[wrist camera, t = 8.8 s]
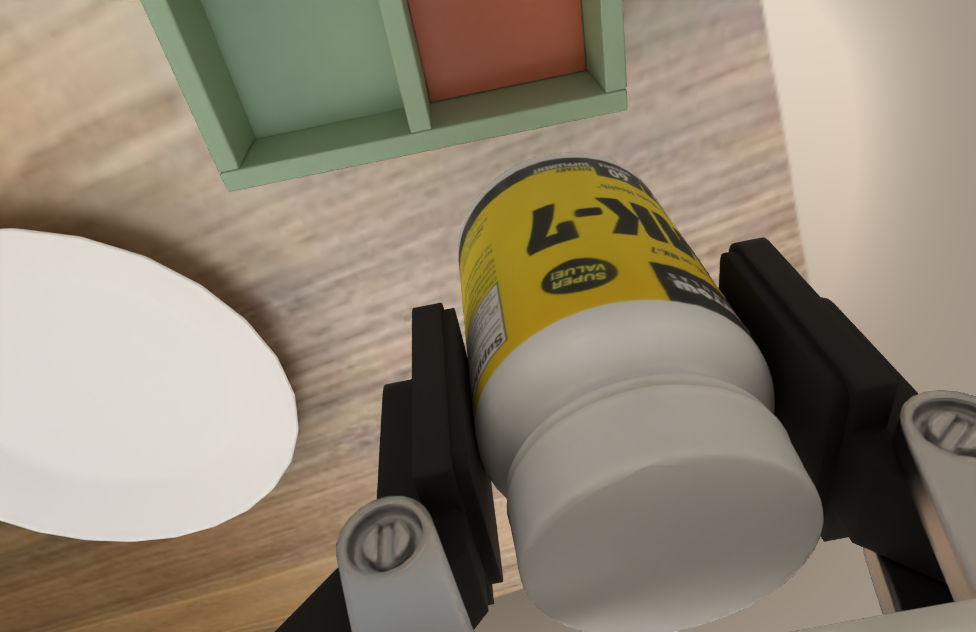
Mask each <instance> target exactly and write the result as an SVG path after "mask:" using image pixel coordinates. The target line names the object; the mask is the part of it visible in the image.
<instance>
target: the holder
mask: <svg viewBox="0 0 976 632" xmlns="http://www.w3.org/2000/svg"><path fill="white" fill-rule="evenodd" d="M141 2H142V5H143V7H144V9H145V11H146V13H147V15H148V18H149V20H150V22H151V24H152V26H153V29H154V31H155V33H156V35H157V37H158V40H159V42H160V44H161V46H162V48H163V51H164V53H165V55H166V57H167V59H168V62H169V64H170V66H171V68H172V70H173V73H174V75H175V77H176V79H177V81H178V83H179V86H180V88H181V90H182V92H183V94H184V97H185V99H186V101H187V103H188V105H189V108H190V110H191V112H192V114H193V116H194V119H195V121H196V123H197V125H198V127H199V130H200V132H201V134H202V136H203V138H204V141H205V143H206V145H207V147H208V149H209V152H210V154H211V156H212V158H213V160H214V162H215V165H216V167H217V169H218V171H219V172H221V173H220V175H221V178H222V180H223V182H224V184H225V186H226V189H227V191H228V192H231V191H236V190H241V189H246V188H251V187H255V186H260V185H265V184H270V183H275V182H280V181H285V180H289V179H294V178H299V177H304V176H309V175H314V174H319V173H323V172H328V171H333V170H338V169H343V168H348V167H352V166H357V165H362V164H367V163H372V162H377V161H382V160H386V159H391V158H396V157H401V156H406V155H411V154H416V153H420V152H425V151H430V150H435V149H440V148H445V147H450V146H454V145H459V144H464V143H469V142H474V141H479V140H484V139H488V138H493V137H498V136H503V135H508V134H513V133H518V132H522V131H527V130H532V129H537V128H542V127H547V126H552V125H556V124H561V123H566V122H571V121H576V120H581V119H586V118H590V117H595V116H600V115H605V114H610V113H615V112H620V111H624V110H627V91H626V87H627V83H626V60H625V37H624V13H623V0H141Z"/></svg>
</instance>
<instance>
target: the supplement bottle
mask: <svg viewBox="0 0 976 632" xmlns="http://www.w3.org/2000/svg"><path fill="white" fill-rule="evenodd" d="M459 268H460V278H461V292H462V303H463V313H464V324H465V334H466V346H467V355H468V366H469V378H470V389H471V399H472V410H473V421H474V431H475V437H476V442H477V447H478V451H479V455H480V458H481V461H482V464H483V466H484V468H485V470H486V473H487V474H488V476H489V478H490V479H491V481H492V482H493V484H494V485H495V486H496V488H497V489H498V490H499V491H500V492H501V493H502V494H503V495H504V496H505V497H506V498H507V515H508V519H509V523H510V526H511V531H512V536H513V541H514V546H515V551H516V558H517V564H518V569H519V573H520V578H521V581H522V584H523V587H524V589H525V591H526V593H527V595H528V596H529V598H530V599H531V601H532V602H533V603H534V605H535V606H536V607H537V608H538V609H540V610H541V611H542V612H543V613H545V614H546V615H547V616H549V617H550V618H552V619H554V620H555V621H557V622H559V623H561V624H563V625H566V626H569V627H572V628H575V629H578V630H581V631H585V632H675V631H680V630H685V629H689V628H693V627H696V626H700V625H704V624H707V623H711V622H713V621H716V620H719V619H721V618H724V617H726V616H729V615H731V614H733V613H736V612H738V611H740V610H742V609H745V608H747V607H749V606H751V605H753V604H755V603H756V602H758V601H760V600H761V599H763V598H764V597H766V596H767V595H769V594H770V593H772V592H773V591H775V590H776V589H778V588H779V587H780V586H782V585H783V584H784V583H786V582H787V581H788V580H789V579H790V578H791V577H792V576H793V575H794V574H795V573H796V572H797V571H798V570H799V569H800V568H801V567H802V566H803V565H804V563H805V562H806V561H807V559H808V558H809V557H810V555H811V554H812V552H813V551H814V549H815V547H816V545H817V543H818V541H819V539H820V535H821V531H822V526H823V508H822V503H821V499H820V497H819V494H818V492H817V490H816V487H815V486H814V484H813V482H812V480H811V479H810V477H809V475H808V473H807V472H806V470H805V468H804V466H803V464H802V462H801V460H800V458H799V456H798V455H797V453H796V451H795V449H794V447H793V445H792V444H791V442H790V439H789V436H788V434H787V431H786V430H785V428H784V427H783V425H782V424H781V422H780V421H779V420H778V418H777V417H776V416H774V407H775V400H774V386H773V381H772V377H771V373H770V370H769V367H768V365H767V362H766V360H765V358H764V357H763V355H762V353H761V351H760V349H759V348H758V346H757V344H756V343H755V341H754V339H753V338H752V336H751V334H750V332H749V331H748V329H747V328H746V327H745V326H744V325H743V323H742V322H741V320H740V319H739V318H738V316H737V315H736V313H735V312H734V310H733V308H732V307H731V305H730V303H729V302H728V301H727V300H726V298H725V297H724V295H723V294H722V293H721V291H720V290H719V289H718V287H717V286H716V285H715V283H714V282H713V280H712V278H711V277H710V275H709V273H708V272H707V271H706V270H705V268H704V267H703V265H702V264H701V262H700V260H699V259H698V258H697V256H696V255H695V253H694V252H693V250H692V249H691V248H690V246H689V245H688V244H687V242H686V241H685V240H684V238H683V237H682V235H681V234H680V232H679V231H678V230H677V228H676V227H675V226H674V224H673V223H672V221H671V220H670V218H669V217H668V216H667V214H666V213H665V211H664V210H663V208H662V207H661V205H660V204H659V202H658V201H657V199H656V198H655V197H654V195H653V194H652V193H651V191H650V190H649V189H648V188H647V186H646V185H645V184H644V183H643V182H642V181H641V180H640V179H639V178H638V177H637V176H636V175H635V174H634V173H633V172H631V171H630V170H629V169H627V168H626V167H624V166H622V165H621V164H619V163H617V162H615V161H613V160H610V159H607V158H604V157H601V156H598V155H593V154H587V153H573V152H568V153H555V154H548V155H544V156H539V157H535V158H532V159H529V160H527V161H524V162H522V163H520V164H517V165H515V166H514V167H512V168H510V169H508V170H507V171H505V172H504V173H503V174H501V175H500V176H499V177H497V178H496V179H495V180H494V181H493V182H491V183H490V184H489V185H488V186H487V187H486V188H485V189H484V191H483V192H482V193H481V194H480V195H479V197H478V198H477V199H476V201H475V202H474V204H473V205H472V207H471V209H470V211H469V212H468V215H467V217H466V219H465V222H464V225H463V228H462V231H461V235H460V241H459Z"/></svg>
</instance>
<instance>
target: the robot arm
mask: <svg viewBox="0 0 976 632" xmlns="http://www.w3.org/2000/svg"><path fill="white" fill-rule="evenodd" d="M719 290H720V291H721V293H722V294H723V295H724V297H725V298H726V300H727V301H728V302H729V303H730V305H731V307H732V308H733V310H734V312H735V313H736V315H737V316H738V318H739V319H740V320H741V322H742V323H743V325H744V326H745V327H746V328H747V329H748V331H749V332H750V334H751V336H752V338H753V339H754V341H755V343H756V344H757V346H758V348H759V349H760V351H761V353H762V355H763V357H764V358H765V360H766V362H767V365H768V367H769V370H770V373H771V377H772V381H773V386H774V400H775V407H774V416H776V417H777V418H778V420H779V421H780V422H781V424H782V425H783V427H784V428H785V430H786V431H787V434H788V436H789V439H790V442H791V444H792V445H793V447H794V449H795V451H796V453H797V455H798V456H799V458H800V460H801V462H802V464H803V466H804V468H805V470H806V472H807V473H808V475H809V477H810V479H811V480H812V482H813V484H814V486H815V487H816V490H817V492H818V494H819V497H820V499H821V503H822V508H823V526H822V531H821V535H820V536H821V537H822V539H823V541H830V540H836V539H841V538H846V537H849V538H850V540H851V541H852V543H855V544H857V545H859V546H861V547H863V551H864V556H865V559H866V563H867V566H868V569H869V572H870V575H871V579H872V582H873V585H874V588H875V591H876V595H877V598H878V601H879V604H880V607H881V610H882V614H883V615H879V616H874V617H869V618H863V619H858V620H852V621H846V622H841V623H835V624H830V625H825V626H820V627H814V628H808V629H803V630H798V631H792V632H976V396H973V395H969V394H965V393H961V392H955V391H944V390H937V391H928V392H923V393H921V394H918V393H917V392H916V391H915V389H914V388H913V387H912V386H911V385H910V384H909V383H908V382H907V381H906V380H905V379H904V378H903V377H902V376H901V375H900V373H899V372H898V371H897V370H896V369H895V368H894V367H893V366H892V365H891V364H890V363H889V362H888V361H887V359H886V358H885V357H884V356H883V355H882V354H881V353H880V352H879V351H878V350H877V349H876V348H875V347H874V346H873V345H872V344H871V342H870V341H869V340H868V339H867V338H866V337H865V336H864V335H863V334H862V333H861V332H860V331H859V330H858V329H857V327H856V326H855V325H854V324H853V323H852V322H851V321H850V320H849V319H848V318H847V317H846V316H845V315H844V313H842V311H841V310H840V309H839V308H838V307H837V306H836V305H835V304H834V303H833V302H832V301H830V300H829V299H827V298H823V297H822V298H821V297H820V296H819V295H818V294H817V293H816V292H815V291H814V290H813V288H812V287H811V286H810V285H809V284H808V283H807V282H806V281H805V280H804V279H803V278H802V276H801V275H800V274H799V273H798V272H797V271H796V270H795V269H794V268H793V267H792V266H791V264H790V263H789V262H788V261H787V260H786V259H785V258H784V257H783V256H782V255H781V254H780V252H779V251H778V250H777V249H776V248H775V247H774V246H773V245H772V244H771V243H770V242H769V240H767V239H766V238H757V239H752V240H747V241H742V242H737V243H733V244H732V245H731V246H730V248H729V252H727V253H723V254H722V255H721V258H720V273H719ZM336 557H337V562H338V568H337V569H336V570H335V571H334V572H333V573H332V574H331V575H330V576H329V577H328V578H327V579H326V580H325V581H324V582H323V583H322V584H321V585H320V586H319V587H318V588H317V589H316V590H315V591H314V592H313V593H312V594H311V595H310V596H309V598H308V599H307V600H306V601H305V602H304V603H303V604H302V605H301V606H300V607H299V608H298V609H297V610H296V611H295V612H294V613H293V614H292V615H291V616H290V617H289V618H288V619H287V620H286V621H285V622H284V623H283V624H282V625H281V626H280V627H279V628H278V629H277V630H276V631H275V632H474V629H475V628H476V626H477V625H478V624H479V623H480V621H481V620H482V619H483V617H484V616H485V615H486V614H487V612H488V605H491V604H494V598H493V589H492V584H495V583H501V582H503V573H502V565H501V557H500V549H499V541H498V533H497V525H496V517H495V509H494V501H493V493H492V485H491V479H490V478H489V476H488V474H487V473H486V470H485V468H484V466H483V464H482V461H481V458H480V455H479V451H478V447H477V442H476V437H475V431H474V421H473V410H472V399H471V389H470V378H469V366H468V358H467V354H466V350H465V346H464V342H463V338H462V335H461V331H460V327H459V323H458V319H457V315H456V312H455V309H454V308H451V309H446V310H444V307H443V305H442V303H436V304H431V305H426V306H422V307H417V308H413V309H412V379H411V380H406V381H401V382H396V383H391V384H386V385H385V386H384V388H383V398H382V416H381V433H380V451H379V469H378V487H377V500H374V501H372V502H370V503H368V504H366V505H365V506H363V507H361V508H360V509H359V510H358V511H356V512H355V513H354V514H353V515H352V516H351V517H350V518H349V519H348V521H347V522H346V524H345V525H344V527H343V528H342V530H341V531H340V534H339V538H338V541H337V544H336Z"/></svg>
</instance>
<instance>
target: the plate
mask: <svg viewBox="0 0 976 632" xmlns="http://www.w3.org/2000/svg"><path fill="white" fill-rule="evenodd" d="M298 431H299V427H298V418H297V409H296V401H295V394H294V392H293V390H292V387H291V385H290V383H289V381H288V379H287V377H286V374H285V372H284V370H283V368H282V366H281V364H280V361H279V359H278V357H277V356H276V355H275V353H274V352H273V351H272V350H271V349H270V347H269V346H268V345H267V344H266V343H265V341H264V340H263V339H262V338H261V337H260V336H259V334H258V333H257V332H256V331H255V330H254V328H253V327H252V326H251V325H250V324H249V322H248V321H247V320H246V319H245V318H243V317H242V316H241V315H240V314H238V313H237V312H236V311H234V310H233V309H232V308H231V307H229V306H228V305H227V304H225V303H224V302H223V301H222V300H220V299H219V298H218V297H216V296H215V295H214V294H213V293H211V292H210V291H209V290H207V289H206V288H205V287H204V286H202V285H201V284H199V283H197V282H195V281H193V280H191V279H189V278H187V277H185V276H183V275H181V274H179V273H177V272H175V271H173V270H172V269H170V268H168V267H166V266H164V265H162V264H160V263H158V262H156V261H154V260H152V259H150V258H148V257H146V256H143V255H140V254H137V253H134V252H130V251H127V250H124V249H120V248H117V247H114V246H111V245H107V244H104V243H101V242H98V241H94V240H91V239H88V238H84V237H81V236H74V235H65V234H57V233H49V232H41V231H33V230H25V229H17V228H7V229H0V521H4V522H7V523H10V524H13V525H17V526H20V527H23V528H27V529H30V530H33V531H36V532H41V533H47V534H53V535H59V536H65V537H71V538H77V539H83V540H101V541H127V542H134V541H144V540H154V539H164V538H174V537H179V536H182V535H186V534H190V533H193V532H197V531H201V530H204V529H208V528H212V527H215V526H217V525H219V524H221V523H223V522H225V521H227V520H229V519H231V518H233V517H235V516H237V515H239V514H241V513H243V512H245V511H247V510H249V509H250V508H251V507H252V506H253V505H255V504H256V503H257V502H258V501H259V500H261V499H262V498H263V497H264V496H265V495H267V494H268V493H269V492H270V491H271V490H273V489H274V488H275V486H276V484H277V483H278V481H279V480H280V478H281V477H282V475H283V474H284V472H285V471H286V469H287V467H288V466H289V464H290V463H291V461H292V457H293V453H294V448H295V444H296V440H297V436H298Z"/></svg>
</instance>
